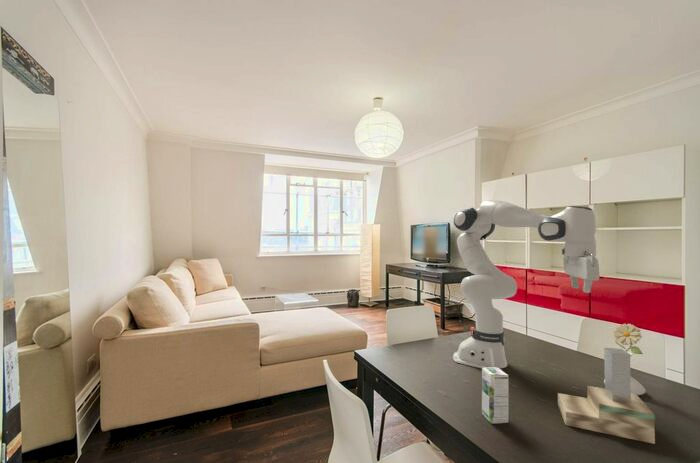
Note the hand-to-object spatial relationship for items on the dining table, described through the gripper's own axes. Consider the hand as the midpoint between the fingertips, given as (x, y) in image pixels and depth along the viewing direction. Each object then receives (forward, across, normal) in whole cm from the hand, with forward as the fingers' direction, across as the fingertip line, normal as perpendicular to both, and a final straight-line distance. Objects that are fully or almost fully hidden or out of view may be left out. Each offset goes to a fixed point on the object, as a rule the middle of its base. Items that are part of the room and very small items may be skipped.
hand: (580, 290), depth 109 cm
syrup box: (+37, -24, +31) cm, 54 cm away
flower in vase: (+37, +8, -16) cm, 41 cm away
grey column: (+29, -17, -3) cm, 34 cm away
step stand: (+37, -17, +1) cm, 41 cm away
